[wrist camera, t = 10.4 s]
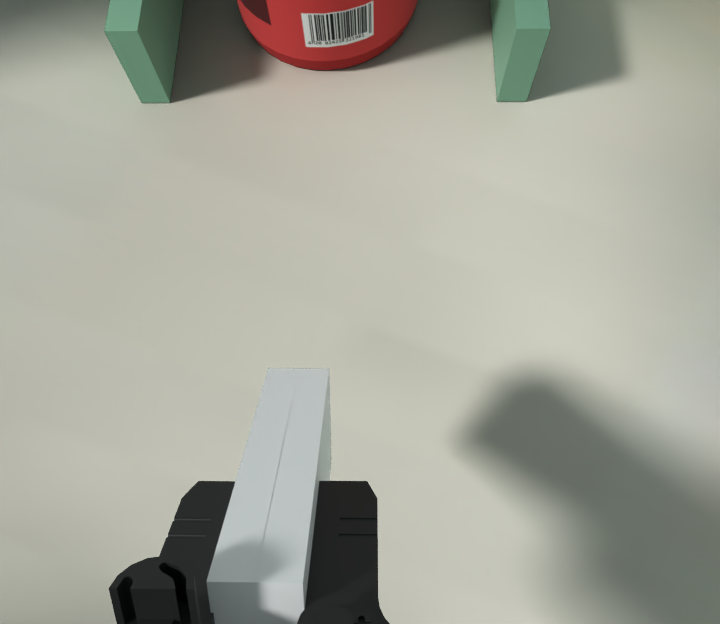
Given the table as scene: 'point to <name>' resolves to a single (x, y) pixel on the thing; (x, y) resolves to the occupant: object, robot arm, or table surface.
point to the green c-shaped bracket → (163, 20)
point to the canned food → (326, 29)
